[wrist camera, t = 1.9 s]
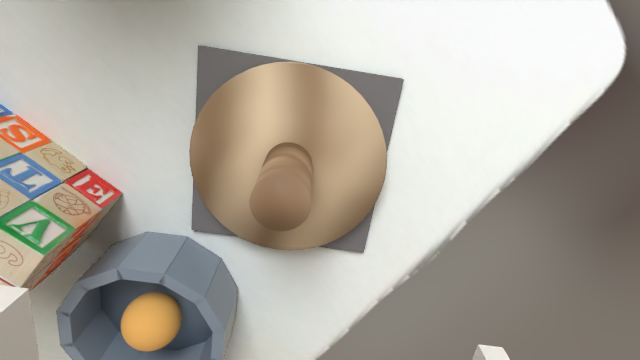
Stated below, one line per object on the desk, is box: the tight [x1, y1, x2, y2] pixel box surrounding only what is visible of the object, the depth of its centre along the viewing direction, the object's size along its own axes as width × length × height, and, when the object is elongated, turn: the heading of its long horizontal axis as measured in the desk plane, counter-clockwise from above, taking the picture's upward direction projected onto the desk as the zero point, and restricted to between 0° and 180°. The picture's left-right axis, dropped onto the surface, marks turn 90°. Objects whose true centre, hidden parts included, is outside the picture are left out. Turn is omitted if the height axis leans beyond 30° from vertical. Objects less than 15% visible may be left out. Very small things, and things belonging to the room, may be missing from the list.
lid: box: [190, 62, 387, 250], centre depth 24 cm, size 14×14×8 cm
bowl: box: [56, 232, 238, 360], centre depth 30 cm, size 12×12×5 cm
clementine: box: [121, 292, 182, 351], centre depth 29 cm, size 4×4×4 cm
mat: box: [192, 46, 404, 253], centre depth 28 cm, size 14×14×1 cm
